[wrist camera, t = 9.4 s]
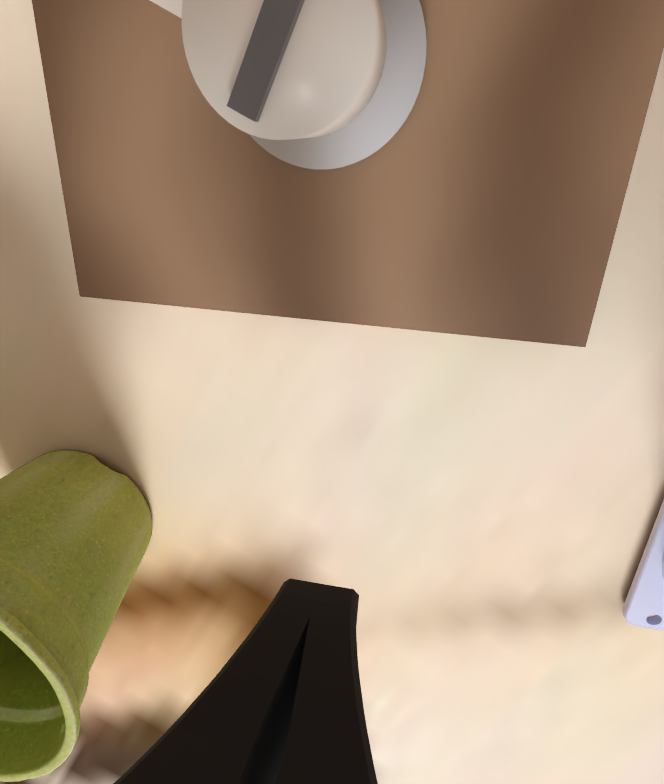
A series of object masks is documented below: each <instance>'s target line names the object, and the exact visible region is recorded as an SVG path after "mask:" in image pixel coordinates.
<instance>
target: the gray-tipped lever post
mask: <svg viewBox="0 0 664 784" xmlns="http://www.w3.org/2000/svg"><path fill="white" fill-rule="evenodd" d="M150 1H152V2H153V3H155V4H157V5H159V6H160V7H162V8H164V9H166V10H167V11H169V12H171V13H173V14H174V15H176V16H178V17H180V18H182V24H181V26H182V37H183V44H184V49H185V54H186V58H187V61H188V64H189V67H190V70H191V72H192V75H193V77H194V79H195V82H196V84H197V85H198V87H199V89H200V91H201V92H202V94H203V96H204V97H205V98H206V100H207V101H208V102H209V104H210V105H211V106H212V107H213V108H214V109H215V111H216V112H217V113H218V114H219V115H220V116H221V117H223V118H224V119H225V120H226V121H227V122H229V123H230V124H232V125H233V126H235V127H236V128H238V129H239V130H241V131H244V132H246V133H248V134H250V135H253V136H256V137H259V138H264V139H270V140H290V139H301V138H312V137H319V136H324V135H327V134H331V133H333V132H335V131H337V130H340V129H341V128H343V127H344V126H346V125H348V124H349V123H350V122H351V121H353V120H354V119H355V118H356V117H357V116H358V115H359V114H360V113H361V112H362V111H363V110H364V109H365V107H366V106H367V104H368V103H369V102H370V100H371V98H372V97H373V95H374V93H375V91H376V89H377V87H378V84H379V82H380V79H381V76H382V73H383V69H384V65H385V58H386V46H387V38H386V26H385V21H384V15H383V12H382V9H381V6H380V3H379V0H150Z"/></svg>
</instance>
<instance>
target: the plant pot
mask: <svg viewBox="0 0 664 784" xmlns="http://www.w3.org/2000/svg"><path fill="white" fill-rule="evenodd" d="M151 535H152V518H151V513H150V509H149V507H148V505H147V502H146V500H145V498H144V497H143V495H142V493H141V492H140V490H139V489H138V488H137V486H136V485H135V484H134V483H133V482H132V481H131V480H130V479H129V478H128V477H127V476H126V475H124V474H121V473H118V472H115V471H113V470H111V469H110V468H108V467H106V466H105V465H103V464H102V463H100V462H99V461H98V460H97V459H96V458H95V457H94V456H93V455H90V454H87V453H83V452H78V451H68V450H64V451H54V452H50V453H46V454H44V455H41V456H39V457H37V458H35V459H34V460H32V461H30V462H29V463H27V464H25V465H23V466H22V467H20V468H18V469H17V470H15V471H13V472H11V473H10V474H8V475H6V476H5V477H3V478H1V479H0V781H4V782H10V781H22V780H26V779H32V778H38V777H41V776H43V775H46V774H48V773H50V772H52V771H53V770H54V769H56V768H57V767H58V766H60V765H61V764H62V763H63V762H64V761H65V760H66V759H67V757H68V756H69V755H70V753H71V752H72V750H73V747H74V745H75V743H76V741H77V738H78V734H79V729H80V710H79V708H80V706H81V704H82V701H83V699H84V696H85V693H86V690H87V686H88V678H89V671H90V669H91V666H92V664H93V662H94V660H95V658H96V656H97V653H98V651H99V649H100V647H101V645H102V642H103V640H104V638H105V636H106V634H107V632H108V629H109V627H110V625H111V623H112V621H113V619H114V616H115V614H116V612H117V610H118V608H119V606H120V604H121V601H122V599H123V597H124V595H125V593H126V591H127V589H128V587H129V585H130V582H131V580H132V578H133V576H134V574H135V572H136V570H137V568H138V566H139V564H140V562H141V560H142V558H143V555H144V553H145V551H146V549H147V547H148V544H149V542H150V538H151Z"/></svg>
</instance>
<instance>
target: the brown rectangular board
mask: <svg viewBox="0 0 664 784" xmlns="http://www.w3.org/2000/svg"><path fill="white" fill-rule="evenodd" d="M379 3H380V6H381V9H382V12H383V15H384V21H385V26H386V38H387V46H386V58H385V65H384V69H383V73H382V76H381V79H380V82H379V84H378V87H377V89H376V91H375V93H374V95H373V97H372V98H371V100H370V102H369V103H368V104H367V106H366V107H365V109H364V110H363V111H362V112H361V113H360V114H359V115H358V116H357V117H356V118H355V119H354V120H353V121H351V122H350V123H349V124H348V125H346V126H344V127H343V128H341V129H340V130H337V131H335V132H333V133H331V134H327V135H324V136H319V137H312V138H301V139H290V140H270V139H264V138H259V137H256V136H253V135H250V134H248V133H246V132H244V131H241V130H239V129H238V128H236V127H235V126H233V125H232V124H230V123H229V122H227V121H226V120H225V119H224V118H223V117H221V116H220V115H219V114H218V113H217V112H216V111H215V109H214V108H213V107H212V106H211V105H210V104H209V102H208V101H207V100H206V98H205V97H204V96H203V94H202V92H201V91H200V89H199V87H198V85H197V84H196V82H195V79H194V77H193V75H192V72H191V70H190V67H189V64H188V61H187V58H186V54H185V49H184V44H183V37H182V26H181V24H182V18H180V17H178V16H176V15H174V14H173V13H171V12H169V11H167V10H166V9H164V8H162V7H160V6H159V5H157V4H155V3H153V2H152V1H150V0H32V4H33V10H34V16H35V22H36V29H37V35H38V41H39V47H40V53H41V59H42V66H43V72H44V78H45V84H46V90H47V96H48V103H49V109H50V115H51V121H52V127H53V133H54V140H55V146H56V152H57V158H58V164H59V170H60V177H61V183H62V189H63V195H64V201H65V207H66V214H67V220H68V226H69V232H70V238H71V244H72V250H73V257H74V263H75V269H76V275H77V281H78V287H79V294H80V296H82V297H92V298H102V299H112V300H122V301H132V302H142V303H152V304H162V305H172V306H182V307H191V308H201V309H211V310H221V311H231V312H241V313H251V314H261V315H271V316H281V317H291V318H301V319H311V320H321V321H331V322H341V323H351V324H361V325H371V326H381V327H391V328H401V329H411V330H420V331H430V332H440V333H450V334H460V335H470V336H480V337H490V338H500V339H510V340H520V341H530V342H540V343H550V344H560V345H570V346H580V347H585V346H586V342H587V339H588V335H589V331H590V327H591V323H592V319H593V316H594V312H595V308H596V304H597V300H598V296H599V293H600V289H601V285H602V281H603V277H604V273H605V270H606V266H607V262H608V258H609V254H610V251H611V247H612V243H613V239H614V235H615V231H616V228H617V224H618V220H619V216H620V212H621V208H622V205H623V201H624V197H625V193H626V189H627V185H628V182H629V178H630V174H631V170H632V166H633V163H634V159H635V155H636V151H637V147H638V143H639V140H640V136H641V132H642V128H643V124H644V120H645V117H646V113H647V109H648V105H649V101H650V97H651V94H652V90H653V86H654V82H655V78H656V75H657V71H658V67H659V63H660V59H661V55H662V52H663V48H664V0H379Z"/></svg>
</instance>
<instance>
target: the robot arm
mask: <svg viewBox="0 0 664 784" xmlns="http://www.w3.org/2000/svg"><path fill="white" fill-rule="evenodd" d="M358 600H359V595H358V594H357V593H356V592H355V591H354V589H348V588H342V587H336V586H330V585H324V584H318V583H313V582H307V581H301V580H295V579H289V580H287V581H285V582H284V583H283V585H282V586H281V588H280V590H279V592H278V593H277V595H276V596H275V598H274V599H273V601H272V602H271V604H270V605H269V607H268V608H267V610H266V611H265V613H264V614H263V616H262V617H261V618H260V620H259V621H258V623H257V624H256V625H255V627H254V628H253V629H252V631H251V632H250V634H249V635H248V636H247V638H246V639H245V640H244V641H243V643H242V644H241V645H240V647H239V648H238V649H237V650H236V652H235V653H234V654H233V655H232V657H231V658H230V659H229V661H228V662H227V663H226V664H225V666H224V667H223V668H222V669H221V671H220V672H219V673H218V674H217V675H216V677H215V678H214V679H213V680H212V681H211V682H210V684H209V685H208V686H207V687H206V688H205V689H204V690H203V692H202V693H201V694H200V695H199V696H198V697H197V698H196V700H195V701H194V702H193V703H192V704H191V705H190V706H189V708H188V709H187V710H186V711H185V712H184V713H183V714H182V715H181V717H180V718H179V719H178V720H177V721H176V722H175V723H174V724H173V725H172V726H171V727H170V728H169V729H168V730H167V732H166V733H165V734H164V735H163V736H162V737H161V738H160V739H159V740H158V741H157V742H156V743H155V744H154V745H153V746H152V747H151V748H150V749H149V750H148V751H147V752H146V753H145V754H144V755H143V756H142V757H141V758H140V759H139V760H138V761H137V762H136V763H135V764H134V765H133V766H132V767H131V768H130V769H129V770H128V771H127V772H126V773H124V774H123V775H122V776H121V777H120V778H119V779H118V780H117V781H116V782H115V783H114V784H377V779H376V774H375V769H374V765H373V760H372V754H371V749H370V744H369V739H368V733H367V728H366V721H365V715H364V709H363V702H362V694H361V686H360V679H359V670H358V659H357V642H356V623H357V612H358ZM622 612H623V615H624V617H625V619H626V621H627V622H628V623H629V624H631V625H634V626H639V627H645V628H651V629H657V630H663V631H664V500H663V502H662V505H661V508H660V510H659V513H658V516H657V518H656V521H655V524H654V526H653V529H652V532H651V534H650V537H649V540H648V542H647V545H646V547H645V550H644V553H643V555H642V558H641V561H640V563H639V566H638V569H637V571H636V574H635V577H634V579H633V582H632V585H631V587H630V590H629V593H628V595H627V598H626V601H625V603H624V606H623V611H622ZM650 615H655V616H650ZM648 616H650V617H648Z"/></svg>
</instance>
